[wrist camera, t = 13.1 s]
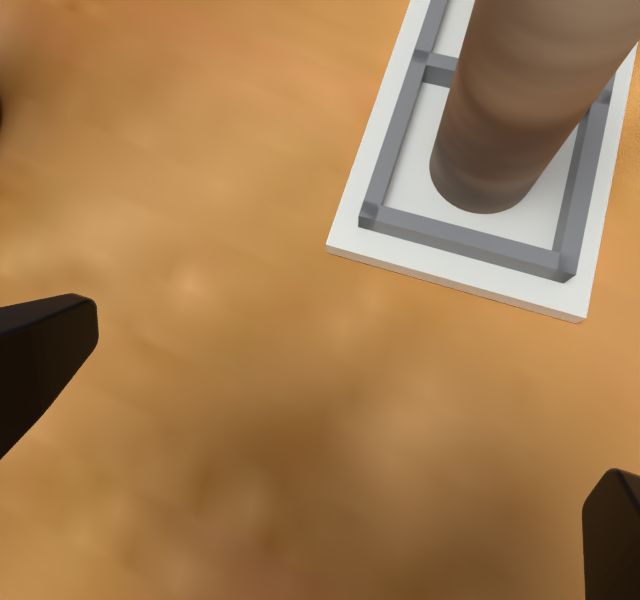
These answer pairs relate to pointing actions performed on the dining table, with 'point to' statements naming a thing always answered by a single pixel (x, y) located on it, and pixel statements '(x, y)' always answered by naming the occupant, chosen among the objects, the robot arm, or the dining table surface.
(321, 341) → the dining table surface
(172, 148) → the dining table surface
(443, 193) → the billet
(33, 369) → the robot arm
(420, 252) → the pallet board
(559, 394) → the dining table surface
